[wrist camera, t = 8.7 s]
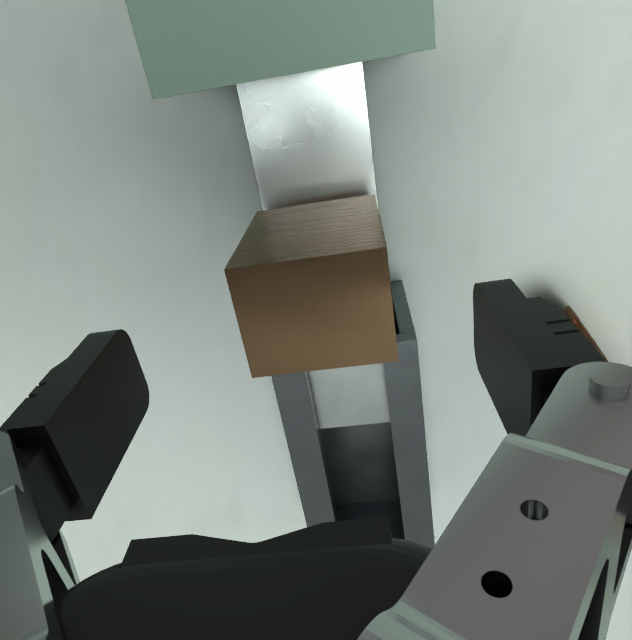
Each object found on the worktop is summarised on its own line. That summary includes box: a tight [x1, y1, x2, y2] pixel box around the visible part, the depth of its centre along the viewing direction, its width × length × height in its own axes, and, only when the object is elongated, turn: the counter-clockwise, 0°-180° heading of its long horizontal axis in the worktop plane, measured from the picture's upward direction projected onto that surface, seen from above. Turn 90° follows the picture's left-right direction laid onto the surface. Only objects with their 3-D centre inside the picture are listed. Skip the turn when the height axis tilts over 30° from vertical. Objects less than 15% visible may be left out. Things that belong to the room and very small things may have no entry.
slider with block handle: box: [224, 62, 399, 429], centre depth 18 cm, size 4×18×11 cm, turn 9°
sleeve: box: [272, 280, 435, 548], centre depth 26 cm, size 6×15×6 cm, turn 9°
